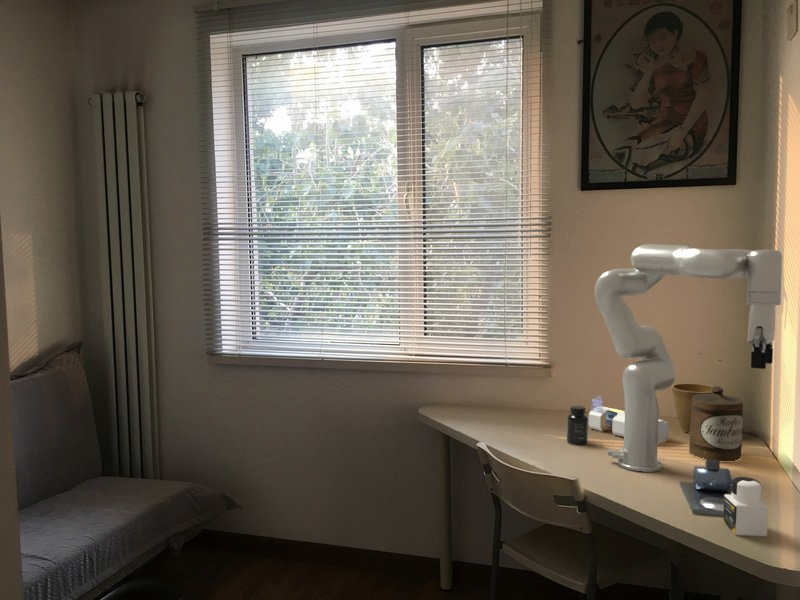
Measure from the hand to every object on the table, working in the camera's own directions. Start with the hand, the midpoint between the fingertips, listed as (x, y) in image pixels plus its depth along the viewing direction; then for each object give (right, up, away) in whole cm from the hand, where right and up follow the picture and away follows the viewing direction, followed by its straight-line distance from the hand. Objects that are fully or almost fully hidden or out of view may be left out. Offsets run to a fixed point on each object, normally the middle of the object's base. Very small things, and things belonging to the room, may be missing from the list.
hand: (761, 365), depth 171 cm
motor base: (-11, -35, +2) cm, 37 cm away
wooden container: (+7, -33, +41) cm, 53 cm away
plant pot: (+12, -30, +67) cm, 75 cm away
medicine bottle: (-12, -37, -15) cm, 42 cm away
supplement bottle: (-33, -31, +54) cm, 70 cm away
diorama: (-13, -31, +63) cm, 72 cm away
